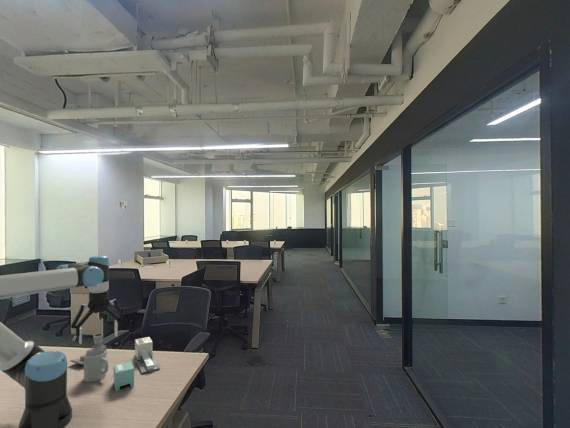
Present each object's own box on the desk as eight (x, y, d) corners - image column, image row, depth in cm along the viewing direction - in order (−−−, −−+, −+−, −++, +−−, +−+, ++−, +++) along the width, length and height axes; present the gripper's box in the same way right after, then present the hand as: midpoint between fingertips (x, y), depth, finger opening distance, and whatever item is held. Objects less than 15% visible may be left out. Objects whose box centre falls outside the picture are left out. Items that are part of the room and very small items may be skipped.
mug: (79, 380, 138) (79, 355, 138) (96, 371, 146) (96, 348, 146) (98, 385, 134) (99, 359, 134) (115, 375, 142) (115, 351, 142)
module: (134, 386, 133) (134, 367, 133) (115, 391, 129) (115, 372, 130) (131, 378, 140) (131, 360, 140) (113, 383, 136) (113, 365, 136)
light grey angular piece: (159, 369, 148) (159, 350, 148) (141, 374, 143) (141, 354, 143) (150, 352, 166) (150, 336, 166) (133, 356, 161) (133, 339, 162)
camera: (109, 333, 163) (81, 345, 149) (110, 355, 163) (81, 369, 149) (98, 331, 166) (69, 342, 152) (98, 353, 166) (69, 366, 152)
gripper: (128, 285, 148) (127, 330, 147) (63, 293, 132) (63, 343, 132) (131, 288, 142) (131, 334, 141) (65, 297, 126) (64, 349, 126)
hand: (98, 339), depth 137 cm, fingers open, 13 cm apart
